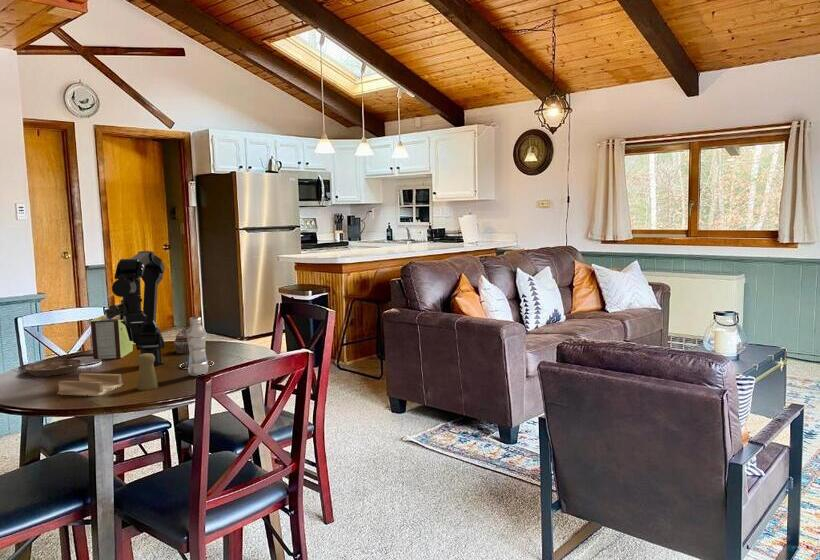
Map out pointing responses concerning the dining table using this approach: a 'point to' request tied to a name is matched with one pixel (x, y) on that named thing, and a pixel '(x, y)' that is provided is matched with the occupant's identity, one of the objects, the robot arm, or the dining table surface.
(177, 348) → the cupcake
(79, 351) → the dining table surface
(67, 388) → the cradle
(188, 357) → the patterned bowl
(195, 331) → the plastic bottle
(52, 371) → the plant saucer
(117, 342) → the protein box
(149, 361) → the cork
